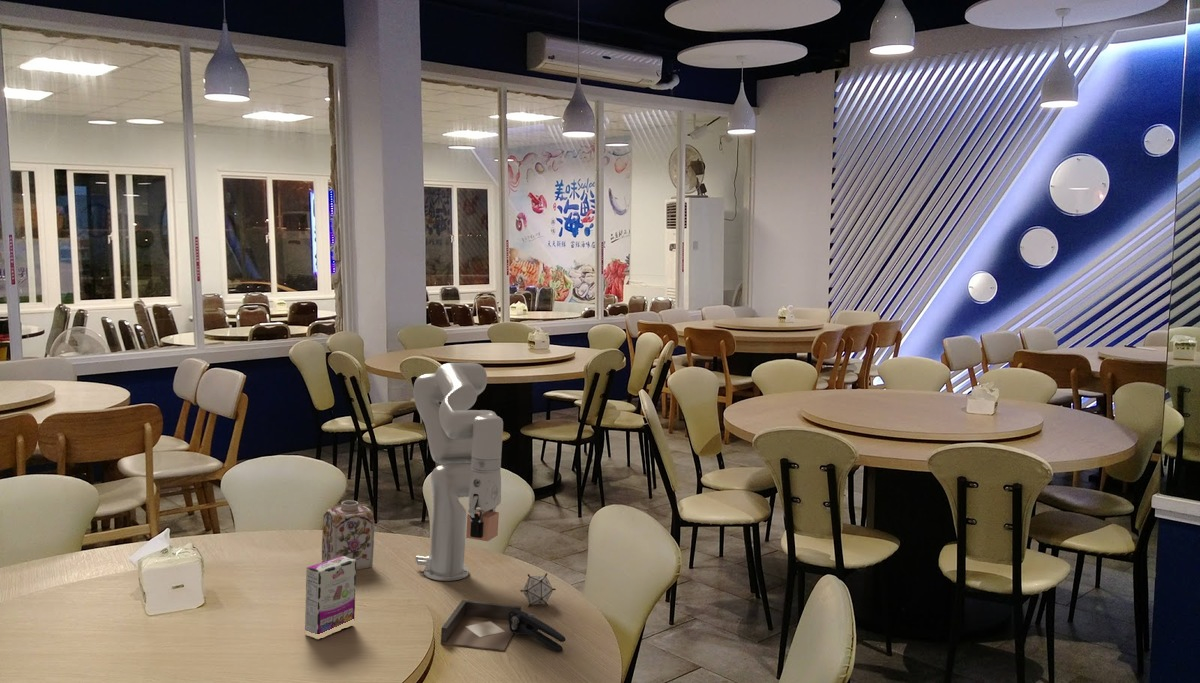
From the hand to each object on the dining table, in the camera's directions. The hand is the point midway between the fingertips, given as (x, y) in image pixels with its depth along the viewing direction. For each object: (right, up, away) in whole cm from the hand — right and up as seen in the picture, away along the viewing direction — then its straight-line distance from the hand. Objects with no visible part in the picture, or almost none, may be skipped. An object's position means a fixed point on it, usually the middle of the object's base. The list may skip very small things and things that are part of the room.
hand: (482, 533), depth 227 cm
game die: (+13, -21, +7) cm, 26 cm away
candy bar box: (-34, -19, -18) cm, 43 cm away
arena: (+2, -21, -13) cm, 25 cm away
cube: (0, -1, 0) cm, 1 cm away
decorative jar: (-42, -15, +27) cm, 52 cm away
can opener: (+15, -22, -15) cm, 31 cm away
